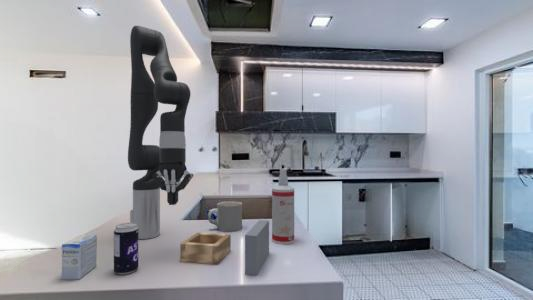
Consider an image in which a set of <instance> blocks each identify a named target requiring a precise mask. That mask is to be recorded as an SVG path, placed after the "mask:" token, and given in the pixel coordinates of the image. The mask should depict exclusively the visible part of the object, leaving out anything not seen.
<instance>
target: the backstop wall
mask: <svg viewBox="0 0 533 300" xmlns="http://www.w3.org/2000/svg"><path fill="white" fill-rule="evenodd" d="M269 254H270V220H265V219H259V220H258V221H257V222H256V223H255V224H254V225H253V226H252V227H251V228H250V229H249V231H248V232H247V233H246V234H245V235H244V260H245V261H244V275H245V276H255V277H256V276H258V275H259V273H260V271H261V269H262V267H263V266H264V263H265V262H266V260H267V258H268V256H269Z"/></svg>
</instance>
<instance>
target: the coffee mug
mask: <svg viewBox="0 0 533 300" xmlns="http://www.w3.org/2000/svg"><path fill="white" fill-rule="evenodd" d="M216 207H217V208H211V209H210V210H209V211H208V214H207V215H208V216H207V219H208V222H209V223H210V224H212V225H215V226H216V230H217V231H219V232H223V233H235V232H238V231H241V230H242V229H243V203H242V202H241V201H240V202H239V201H221V202H218V203H217V204H216ZM213 214H216V218H215V219H213V218H212V215H213Z"/></svg>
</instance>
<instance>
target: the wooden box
mask: <svg viewBox="0 0 533 300" xmlns="http://www.w3.org/2000/svg"><path fill="white" fill-rule="evenodd" d="M231 244H232V242H231V234H230V233H229V234H226V233H225V234H224V233H212V232H211V233H208V232H196V233H194V234H193V235H191V236H190V237H188V238H187V239H185V240H184V241H182V242H181V243H180V246H179V249H180V250H179V253H180V254H179V257H180V259H179V260H180V261H179V262H181V263H182V262H183V263H191V264H192V263H195V264H196V263H197V264H206V265H217V266H218V265H219V264H220V263H221V262H222V261H223V259H225V258H226V256H227V255H228V254H229V253H230V252H231V251H232V250H231V248H232V247H231V246H232V245H231Z"/></svg>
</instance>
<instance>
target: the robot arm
mask: <svg viewBox="0 0 533 300" xmlns="http://www.w3.org/2000/svg"><path fill="white" fill-rule="evenodd" d="M129 36H130V37H129V38H130V40H129V42H130V43H129V44H130V60H131V61H130V62H131V64H130V65H131V67H130V68H131V78H130V81H131V82H130V130H129V139H128V147H127V149H128V150H127V164H128V167H129V169H131V171H146V174H144V175H143V176H142V177H140V178H138V179H136V180H134V181H133V183H132V209H131V210H129V211H130V213H129V215H130V216H129V223H136V224H137V227H138V229H139V234H138V240H146V239H153V238H156V237H159V236H160V235H161V190H162V191H164V192H166V194H167V196H166V201H167V203H168V206H176V205H177V204H178V202H179V192H180V191H184V190H185V189H186V187H187V185H189V183H190V182H191V180H192V179H193V177H194V174H193V173H190V172H189V171H188V169H187V165H186V161H187V159H186V152H187V151H186V148H187V144H186V142H187V141H186V136H185V134H186V133H185V127H186V125H185V120H186V115H187V109H188V107H189V104H190V103H189V102H190V99H191V89H190V87H189V85H187V83H185V82H181V81H178V76H177V74H176V71H175V70H174V69H175V68H174V67H173V66H172V63H171V61H170V57H169V51H168V48H167V47H168V46H167V43H166V39H165V36H164V35H163V33H162V32H161V31H159V30H156V29H152V28H149V27H145V26H141V25H134V26H133V27H132V28H131V31H130V35H129ZM143 55H145V56H151V57H153V58H152V60H151V61H150V65H149V70H150V73H151V76H152V77H151V76H150V74H149V72H148V70H147V68H146V65H145V63H144V58H143ZM152 78H153V79H152ZM159 103H160V104H164V105H171V106H172V105H173V106H175V109H174V110H173V111H167V112H162V113H160V118H159V122H160V124H159V125H160V126H159V127H160V128H159V129H160V130H159V131H160V134H159V139H158V140H159V145H155V144H143V141H144V140H143V139H144V135H145V131H146V130H147V128H148V126H149V124H150V123H151V122H152V120H153V118H154V117H155V116H156V115H157V112H158V110H159ZM181 179H182V180H181Z"/></svg>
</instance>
